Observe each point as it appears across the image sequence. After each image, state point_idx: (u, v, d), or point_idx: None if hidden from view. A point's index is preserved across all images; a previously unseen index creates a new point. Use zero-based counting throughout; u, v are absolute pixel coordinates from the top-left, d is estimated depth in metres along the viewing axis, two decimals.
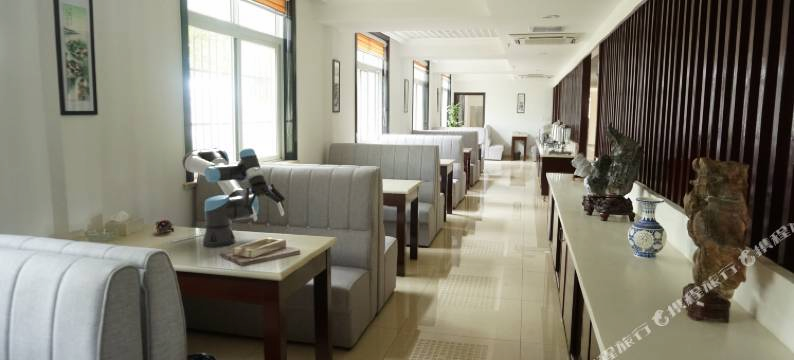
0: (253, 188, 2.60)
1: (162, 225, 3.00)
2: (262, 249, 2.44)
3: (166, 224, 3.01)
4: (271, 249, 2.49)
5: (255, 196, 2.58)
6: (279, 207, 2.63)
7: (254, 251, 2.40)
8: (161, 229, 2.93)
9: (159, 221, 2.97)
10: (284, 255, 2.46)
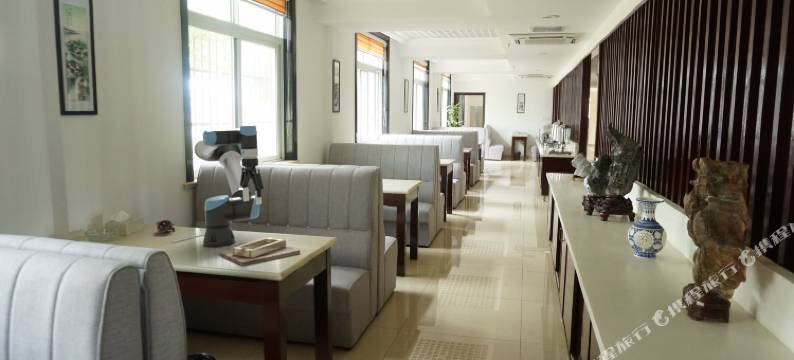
0: (245, 169, 2.62)
1: (163, 225, 3.01)
2: (262, 249, 2.44)
3: (167, 224, 3.01)
4: (271, 249, 2.49)
5: (245, 178, 2.63)
6: None
7: (254, 251, 2.40)
8: (162, 229, 2.93)
9: (160, 221, 2.97)
10: (284, 255, 2.46)
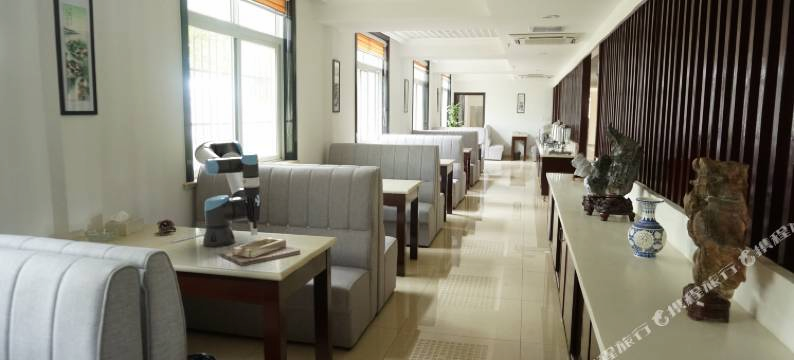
0: (246, 197, 2.64)
1: (164, 225, 3.01)
2: (262, 249, 2.44)
3: (168, 224, 3.02)
4: (271, 249, 2.49)
5: (249, 208, 2.63)
6: None
7: (254, 251, 2.40)
8: (163, 229, 2.94)
9: (161, 221, 2.97)
10: (284, 255, 2.46)
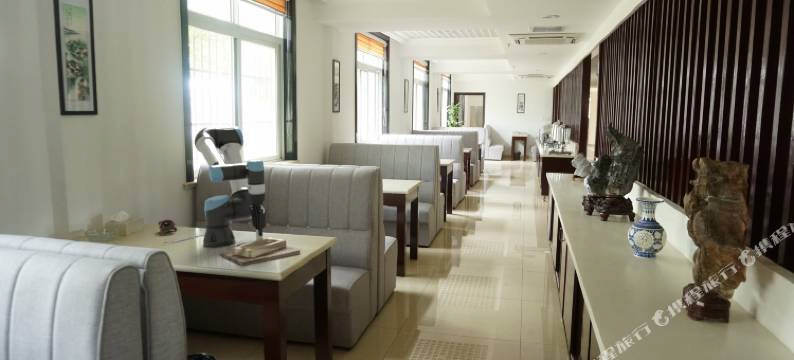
0: (252, 204, 2.61)
1: (165, 225, 3.01)
2: (262, 249, 2.44)
3: (169, 224, 3.02)
4: (271, 249, 2.49)
5: (255, 215, 2.59)
6: None
7: (254, 251, 2.40)
8: (164, 229, 2.94)
9: (162, 221, 2.98)
10: (284, 255, 2.46)
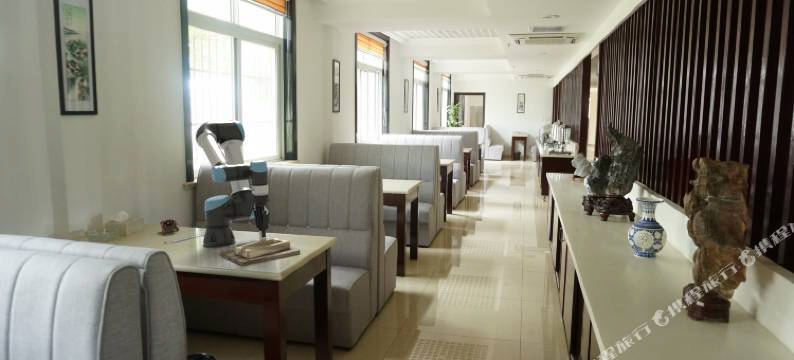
0: (255, 205, 2.58)
1: (167, 224, 3.02)
2: (262, 250, 2.43)
3: (171, 223, 3.03)
4: (272, 250, 2.47)
5: (258, 216, 2.57)
6: None
7: (252, 252, 2.39)
8: (167, 228, 2.95)
9: None
10: (284, 255, 2.46)
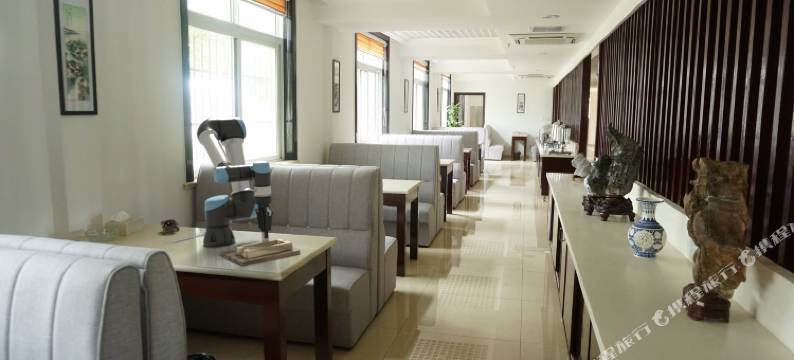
0: (258, 206, 2.56)
1: (167, 224, 3.02)
2: (261, 251, 2.42)
3: (171, 223, 3.03)
4: (273, 251, 2.46)
5: (260, 217, 2.55)
6: None
7: (251, 252, 2.38)
8: (167, 228, 2.95)
9: (165, 220, 2.99)
10: (284, 255, 2.46)
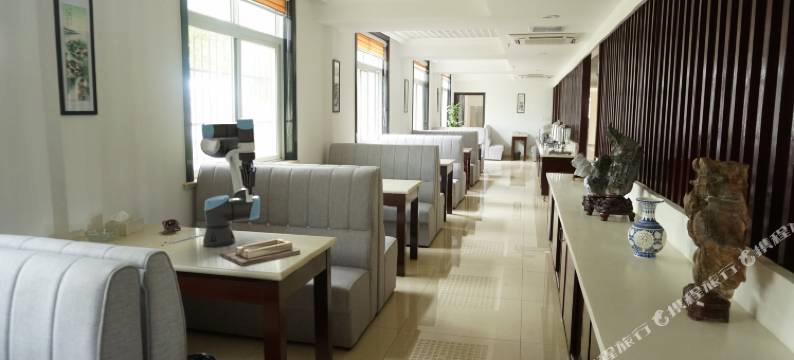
0: (242, 163, 2.59)
1: (169, 224, 3.03)
2: (261, 251, 2.42)
3: (173, 223, 3.03)
4: (273, 251, 2.46)
5: (244, 174, 2.58)
6: None
7: (251, 252, 2.38)
8: (169, 228, 2.95)
9: (166, 220, 2.99)
10: (284, 255, 2.46)
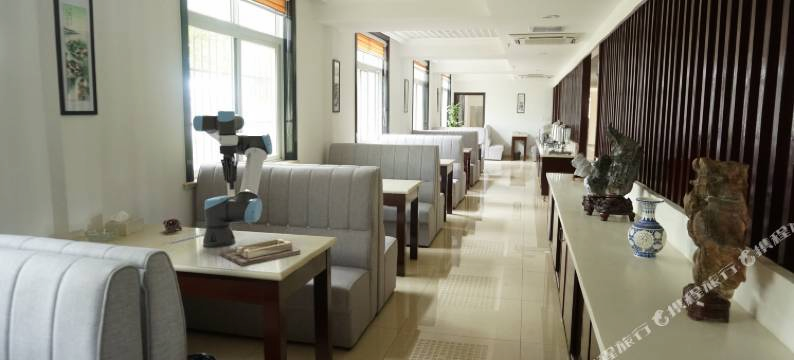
0: (223, 157, 2.51)
1: (170, 224, 3.03)
2: (261, 251, 2.42)
3: (174, 223, 3.04)
4: (273, 251, 2.46)
5: (226, 168, 2.49)
6: None
7: (251, 252, 2.38)
8: (170, 228, 2.96)
9: (167, 220, 2.99)
10: (284, 255, 2.46)
